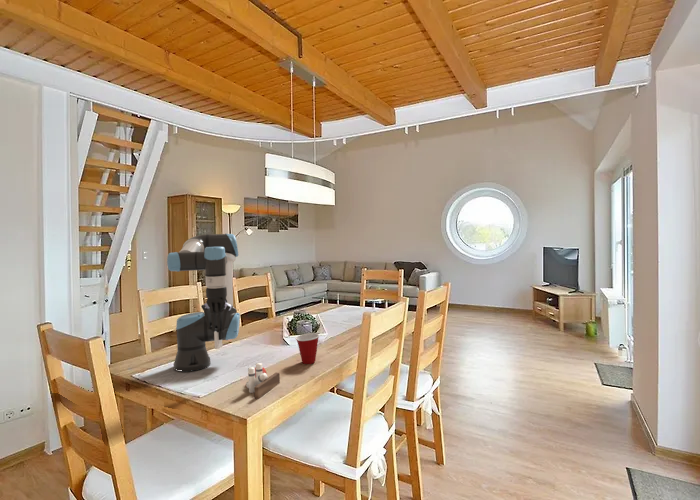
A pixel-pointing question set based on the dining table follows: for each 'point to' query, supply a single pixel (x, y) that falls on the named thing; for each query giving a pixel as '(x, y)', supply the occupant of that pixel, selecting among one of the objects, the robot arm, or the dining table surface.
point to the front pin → (258, 379)
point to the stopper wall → (267, 385)
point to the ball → (262, 371)
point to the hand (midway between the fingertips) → (218, 347)
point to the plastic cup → (308, 347)
